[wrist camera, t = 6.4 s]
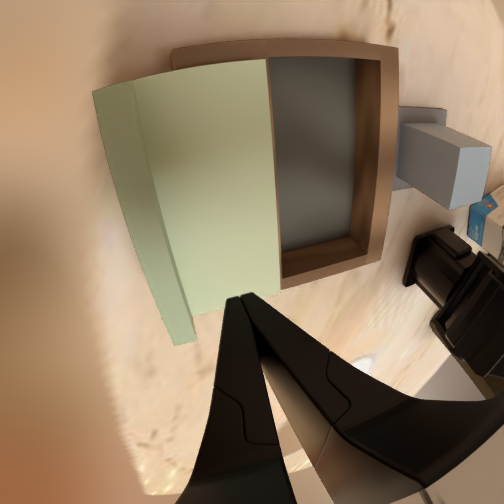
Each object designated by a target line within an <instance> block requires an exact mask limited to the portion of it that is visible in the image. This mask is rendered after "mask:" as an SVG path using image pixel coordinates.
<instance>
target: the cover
mask: <svg viewBox="0 0 504 504" xmlns="http://www.w3.org/2000/svg"><path fill="white" fill-rule="evenodd" d="M92 95H93V100H94V105H95V109H96V114H97V119H98V123H99V128H100V132H101V136H102V140H103V144H104V148H105V152H106V156H107V160H108V164H109V167H110V171H111V175H112V178H113V182H114V185H115V189H116V192H117V195H118V199H119V202H120V205H121V209H122V212H123V215H124V218H125V221H126V224H127V227H128V230H129V233H130V236H131V239H132V242H133V245H134V248H135V250H136V253H137V256H138V259H139V261H140V264H141V267H142V270H143V272H144V275H145V277H146V280H147V283H148V285H149V288H150V290H151V293H152V295H153V298H154V300H155V303H156V305H157V308H158V310H159V312H160V315H161V317H162V319H163V322H164V324H165V326H166V329H167V331H168V333H169V335H170V338H171V340H172V342H173V344H174V346H177V345H181V344H185V343H189V342H193V341H197V336H196V332H195V327H194V322H193V318H192V316H196V315H200V314H204V313H208V312H212V311H216V310H220V309H224V308H225V303H226V299H227V298H230V297H234V296H239V297H240V295H242V294H245V293H249V292H253V293H255V294H256V295H257V296H259V297H260V298H265V297H268V296H272V295H275V294H279V293H281V290H280V266H279V245H278V226H277V208H276V191H275V175H274V160H273V146H272V132H271V119H270V106H269V94H268V83H267V71H266V60H265V59H260V60H247V61H236V62H227V63H219V64H211V65H204V66H198V67H192V68H186V69H180V70H175V71H170V72H165V73H160V74H156V75H151V76H147V77H143V78H139V79H135V80H129V81H125V82H122V83H118V84H114V85H111V86H108V87H104V88H101V89H98V90H95V91H92Z"/></svg>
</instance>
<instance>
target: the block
mask: <svg viewBox="0 0 504 504" xmlns="http://www.w3.org/2000/svg"><path fill="white" fill-rule="evenodd" d="M491 152H492V146H489V145H487V144H485V143H483V142H481V141H479V140H476V139H474V138H472V137H470V136H467V135H465V134H463V133H460V132H458V131H455V130H453V129H450V128H448V127H445V126H443V125H440V124H437V123H401V130H400V144H399V156H398V166H397V176H396V177H398V178H400V179H401V180H403V181H405V182H406V183H408V184H409V185H411V186H413V187H414V188H416V189H417V190H419V191H421V192H422V193H424V194H425V195H427V196H428V197H430V198H431V199H433V200H434V201H436V202H437V203H439V204H440V205H442V206H443V207H445V208H446V209H448V210H451V209H455V208H459V207H462V206H466V205H470V204H473V203H477V202H481V200H482V196H483V192H484V188H485V183H486V179H487V174H488V169H489V164H490V158H491Z"/></svg>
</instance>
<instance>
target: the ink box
mask: <svg viewBox="0 0 504 504" xmlns="http://www.w3.org/2000/svg"><path fill="white" fill-rule="evenodd" d="M468 237H469V238H471V239H472V240H474V241H475V242H476V243H477V244H479V245H480V246H481V247H483V248H484V249H485V250H486V251H488V252H489V253H490V254H492V255H493V256H494V257H495V258H497V259H498V260H499V261H500V262H501V263H503V264H504V184H502V185H501V186H500V187H498V188H497V189H495V190H494V191H492V192H491V193H490V194H488V195H487V196H485V197H484V198H482V200H481V202H477V203H475V204H473V205H472V206H471V208H470V220H469V229H468Z"/></svg>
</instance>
